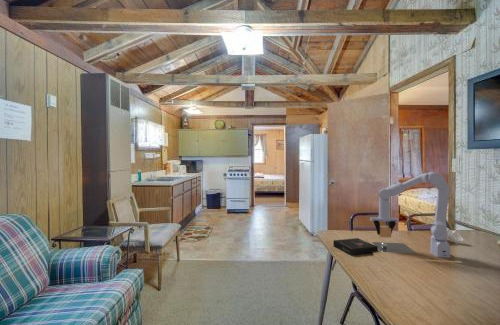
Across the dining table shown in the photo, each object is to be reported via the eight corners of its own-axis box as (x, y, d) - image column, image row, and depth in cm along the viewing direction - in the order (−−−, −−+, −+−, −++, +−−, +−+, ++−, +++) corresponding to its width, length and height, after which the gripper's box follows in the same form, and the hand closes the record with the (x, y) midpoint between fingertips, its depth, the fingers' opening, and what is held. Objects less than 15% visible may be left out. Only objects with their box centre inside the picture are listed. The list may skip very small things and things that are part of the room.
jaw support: (450, 234, 182) (457, 226, 175) (456, 247, 176) (463, 240, 169) (430, 234, 183) (436, 226, 176) (435, 247, 177) (441, 239, 170)
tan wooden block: (391, 237, 159) (391, 228, 159) (380, 237, 160) (380, 228, 160) (387, 234, 165) (387, 226, 164) (377, 234, 165) (377, 225, 165)
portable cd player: (378, 253, 156) (378, 246, 156) (351, 256, 151) (351, 249, 151) (358, 244, 172) (358, 238, 172) (333, 247, 167) (333, 240, 167)
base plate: (416, 255, 152) (416, 248, 152) (380, 253, 155) (380, 247, 155) (403, 245, 170) (403, 239, 170) (371, 243, 173) (371, 237, 173)
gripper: (395, 209, 165) (395, 233, 165) (368, 208, 167) (368, 232, 167) (400, 211, 158) (399, 236, 158) (372, 210, 160) (372, 235, 160)
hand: (384, 234), depth 162 cm, fingers closed on tan wooden block, 6 cm apart
